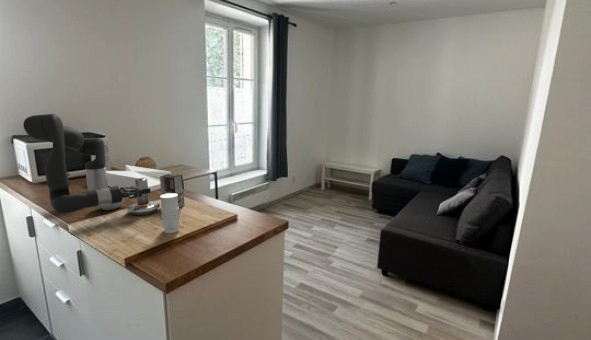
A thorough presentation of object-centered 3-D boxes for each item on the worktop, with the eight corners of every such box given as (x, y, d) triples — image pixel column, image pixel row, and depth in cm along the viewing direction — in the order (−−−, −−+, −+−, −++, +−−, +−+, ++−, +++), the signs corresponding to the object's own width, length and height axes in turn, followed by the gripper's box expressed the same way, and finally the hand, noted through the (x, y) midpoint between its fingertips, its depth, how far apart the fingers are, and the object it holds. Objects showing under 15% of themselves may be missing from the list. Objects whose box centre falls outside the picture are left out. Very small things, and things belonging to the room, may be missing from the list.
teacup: (97, 213, 148) (95, 197, 147) (99, 206, 158) (97, 191, 156) (130, 209, 155) (128, 193, 153) (130, 202, 164) (128, 188, 162)
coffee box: (185, 205, 161) (183, 174, 157) (176, 209, 155) (174, 177, 151) (170, 203, 164) (168, 173, 160) (161, 207, 158) (159, 176, 154)
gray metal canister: (134, 204, 149) (132, 179, 146) (144, 201, 153) (142, 177, 151) (141, 205, 146) (139, 180, 144) (151, 203, 151) (149, 178, 148)
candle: (182, 231, 128) (179, 196, 125) (164, 235, 124) (161, 199, 121) (178, 225, 134) (176, 192, 131) (161, 229, 130) (158, 194, 127)
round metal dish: (121, 213, 148) (120, 207, 148) (148, 205, 160) (147, 199, 159) (139, 218, 141) (139, 212, 141) (166, 210, 153) (165, 204, 152)
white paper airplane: (94, 185, 200) (93, 170, 198) (126, 178, 219) (125, 164, 217) (142, 194, 180) (140, 178, 178) (172, 186, 200) (171, 171, 198)
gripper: (112, 191, 133) (153, 184, 145) (102, 184, 143) (141, 179, 154) (113, 207, 134) (154, 200, 146) (104, 200, 144) (143, 193, 156)
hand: (147, 189), depth 150 cm, fingers closed on gray metal canister, 5 cm apart
